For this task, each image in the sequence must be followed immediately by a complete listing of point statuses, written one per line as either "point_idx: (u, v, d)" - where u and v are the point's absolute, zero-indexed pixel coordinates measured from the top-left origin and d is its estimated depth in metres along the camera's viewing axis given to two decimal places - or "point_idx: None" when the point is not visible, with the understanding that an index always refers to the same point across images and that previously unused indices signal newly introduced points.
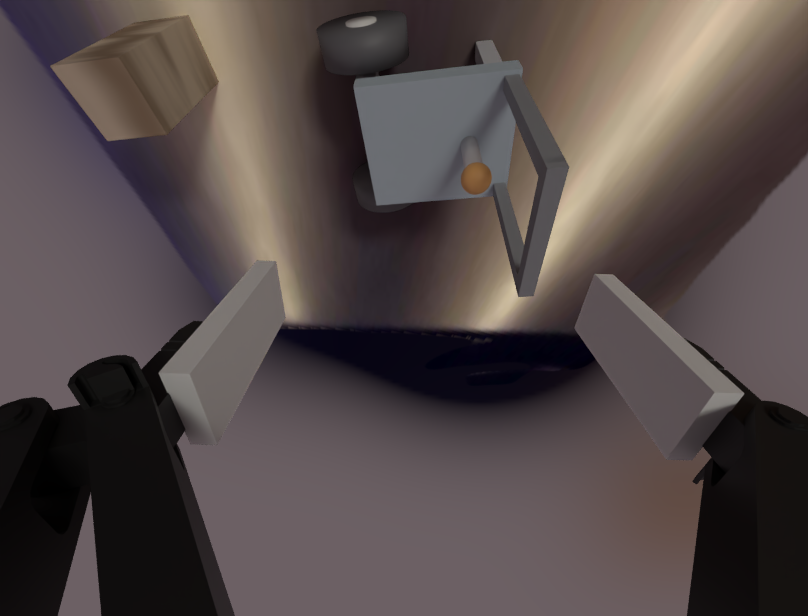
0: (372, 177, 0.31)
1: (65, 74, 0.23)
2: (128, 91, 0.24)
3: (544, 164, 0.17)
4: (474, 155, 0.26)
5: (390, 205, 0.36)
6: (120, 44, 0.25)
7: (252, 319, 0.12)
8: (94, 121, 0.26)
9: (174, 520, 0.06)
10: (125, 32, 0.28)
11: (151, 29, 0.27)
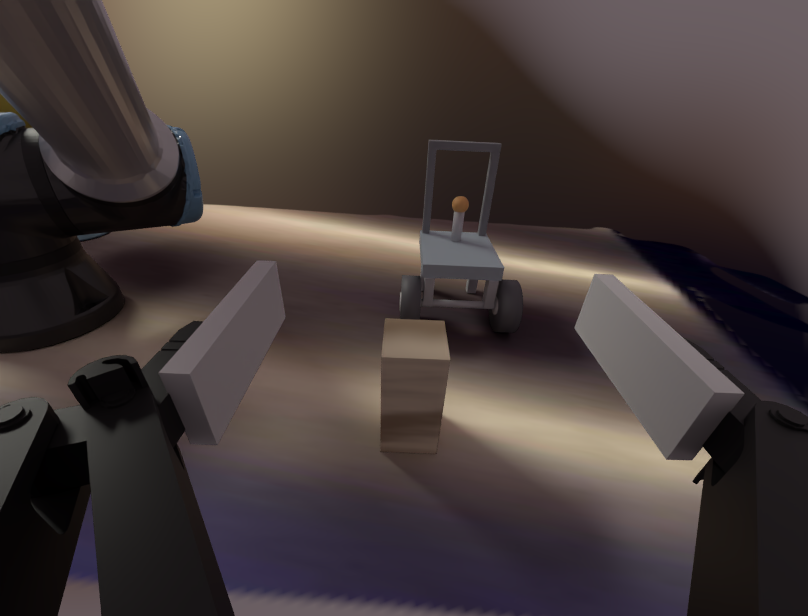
0: (480, 266, 0.43)
1: (389, 351, 0.26)
2: (408, 325, 0.29)
3: (429, 145, 0.45)
4: None
5: (512, 281, 0.45)
6: None
7: (252, 319, 0.12)
8: (430, 357, 0.25)
9: (174, 519, 0.06)
10: None
11: None
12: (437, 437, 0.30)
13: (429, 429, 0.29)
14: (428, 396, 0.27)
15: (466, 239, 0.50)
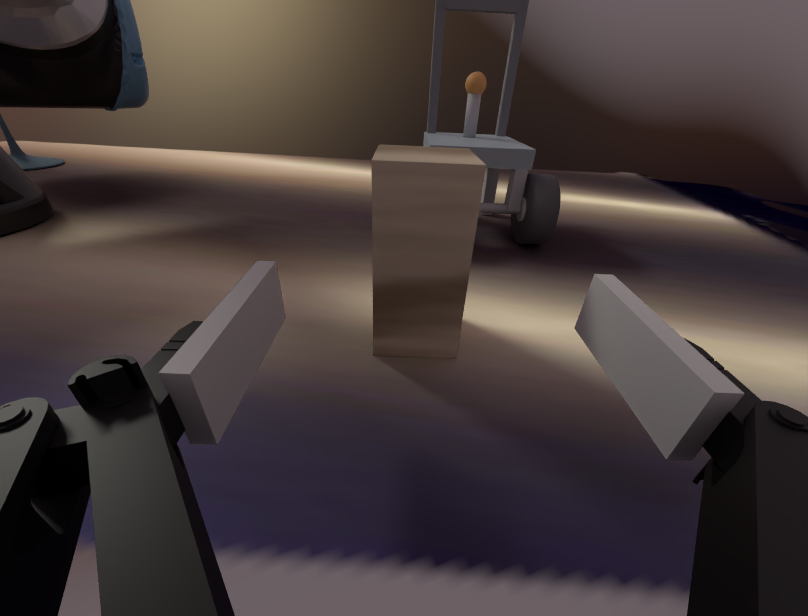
0: (505, 148, 0.33)
1: (384, 158, 0.16)
2: (414, 148, 0.19)
3: (436, 2, 0.35)
4: None
5: (544, 174, 0.35)
6: None
7: (252, 319, 0.12)
8: (452, 163, 0.15)
9: (174, 520, 0.06)
10: None
11: None
12: (458, 328, 0.20)
13: (447, 313, 0.19)
14: (448, 245, 0.17)
15: (482, 137, 0.40)
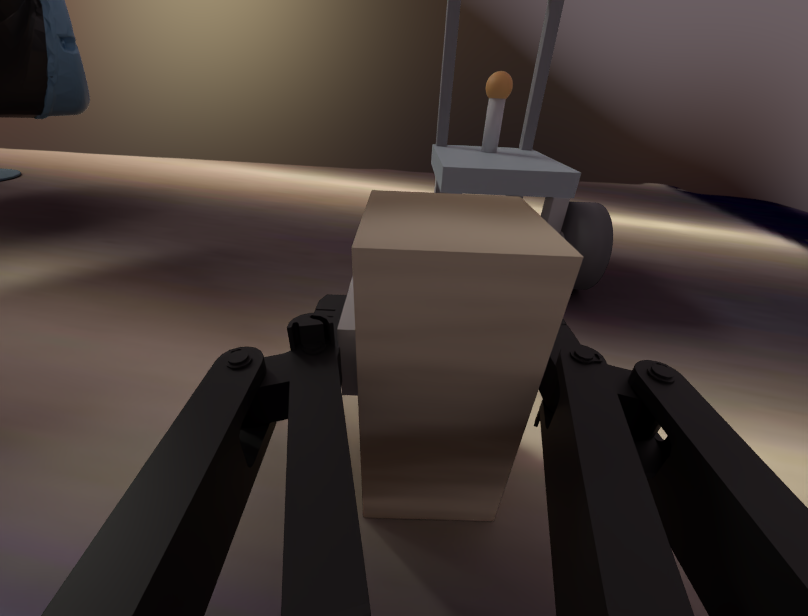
0: (540, 170, 0.25)
1: (379, 237, 0.08)
2: (430, 199, 0.11)
3: None
4: None
5: (588, 202, 0.27)
6: None
7: None
8: (515, 251, 0.08)
9: (341, 462, 0.07)
10: None
11: None
12: (501, 487, 0.12)
13: (484, 470, 0.12)
14: (494, 383, 0.09)
15: (504, 152, 0.33)
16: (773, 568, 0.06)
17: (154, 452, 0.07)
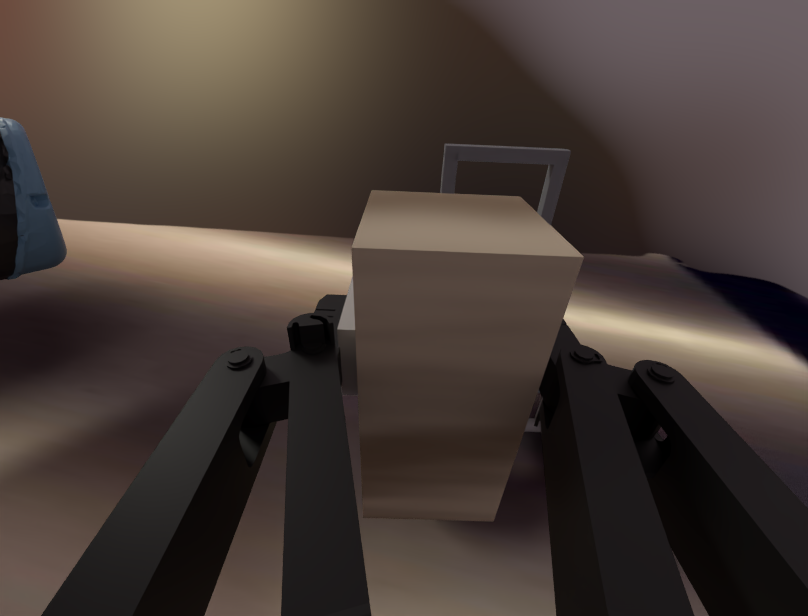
0: None
1: (378, 237, 0.08)
2: (430, 199, 0.11)
3: (446, 153, 0.26)
4: None
5: None
6: None
7: None
8: (515, 252, 0.08)
9: (340, 462, 0.07)
10: None
11: None
12: (501, 487, 0.12)
13: (484, 470, 0.12)
14: (494, 383, 0.09)
15: None
16: (773, 568, 0.06)
17: (154, 453, 0.07)
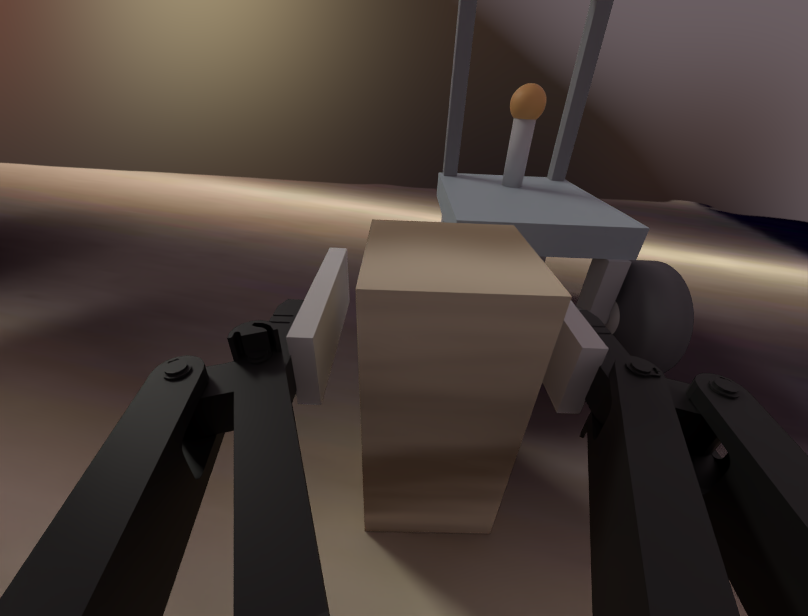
0: (593, 225, 0.18)
1: (380, 276, 0.08)
2: (428, 230, 0.11)
3: None
4: None
5: (651, 262, 0.20)
6: None
7: (336, 298, 0.13)
8: (508, 291, 0.08)
9: (292, 472, 0.07)
10: None
11: None
12: (497, 502, 0.13)
13: (480, 486, 0.12)
14: (489, 408, 0.10)
15: (531, 185, 0.25)
16: None
17: (84, 475, 0.06)
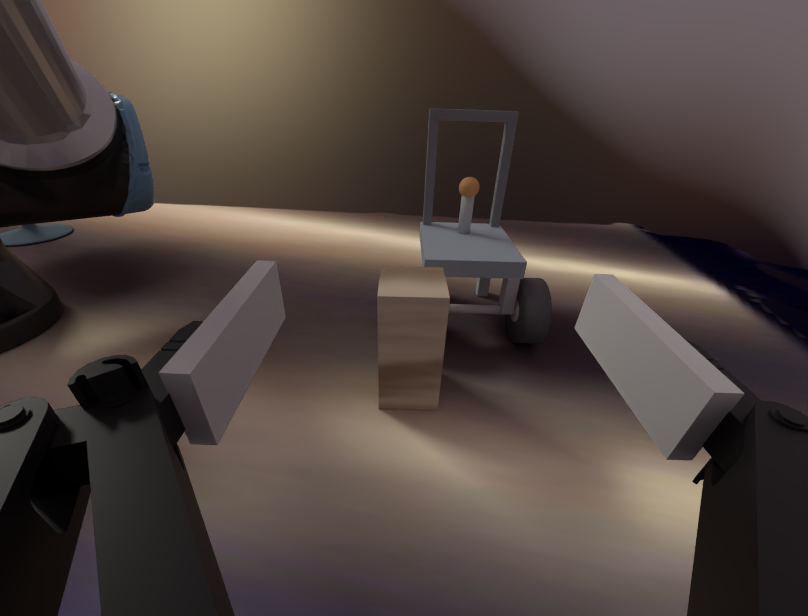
0: (497, 260, 0.34)
1: (385, 291, 0.24)
2: (405, 271, 0.27)
3: (430, 114, 0.37)
4: None
5: (535, 279, 0.36)
6: None
7: (252, 319, 0.12)
8: (428, 296, 0.24)
9: (174, 519, 0.06)
10: None
11: None
12: (438, 390, 0.28)
13: (429, 381, 0.28)
14: (428, 341, 0.26)
15: (476, 231, 0.41)
16: None
17: None
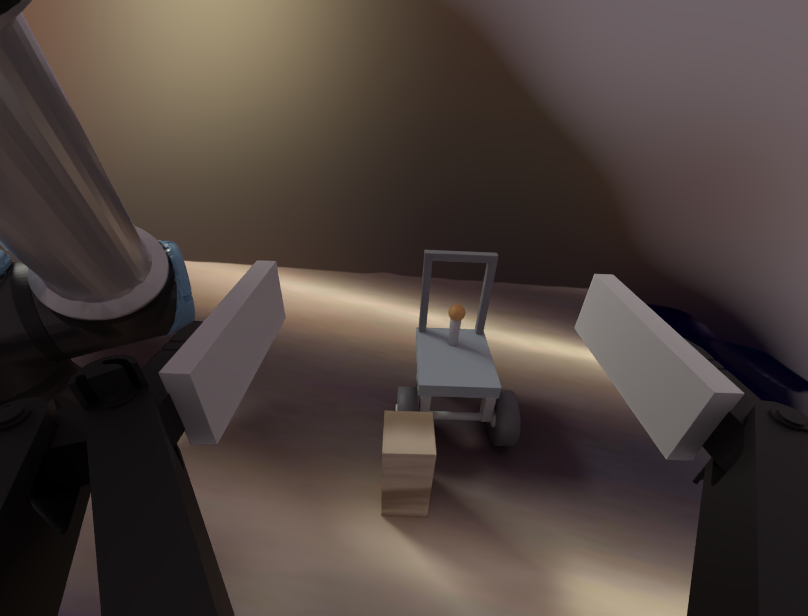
0: (477, 386, 0.42)
1: (388, 447, 0.33)
2: (403, 417, 0.35)
3: (425, 256, 0.45)
4: (450, 324, 0.47)
5: (509, 396, 0.44)
6: None
7: (252, 319, 0.12)
8: (420, 452, 0.32)
9: (174, 520, 0.06)
10: None
11: None
12: (427, 505, 0.37)
13: (421, 500, 0.36)
14: (420, 478, 0.34)
15: (463, 341, 0.49)
16: None
17: None
